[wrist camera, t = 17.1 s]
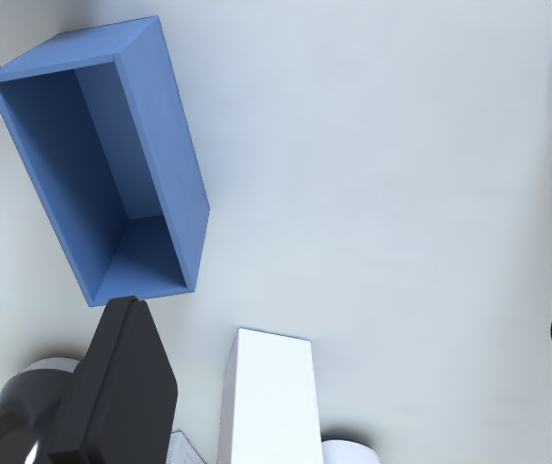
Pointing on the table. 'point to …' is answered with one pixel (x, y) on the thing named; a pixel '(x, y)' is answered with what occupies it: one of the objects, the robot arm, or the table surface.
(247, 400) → the milk carton
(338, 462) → the spread jar
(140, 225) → the blue bin
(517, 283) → the table surface
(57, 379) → the pump dispenser
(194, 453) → the cosmetic box
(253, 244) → the table surface
